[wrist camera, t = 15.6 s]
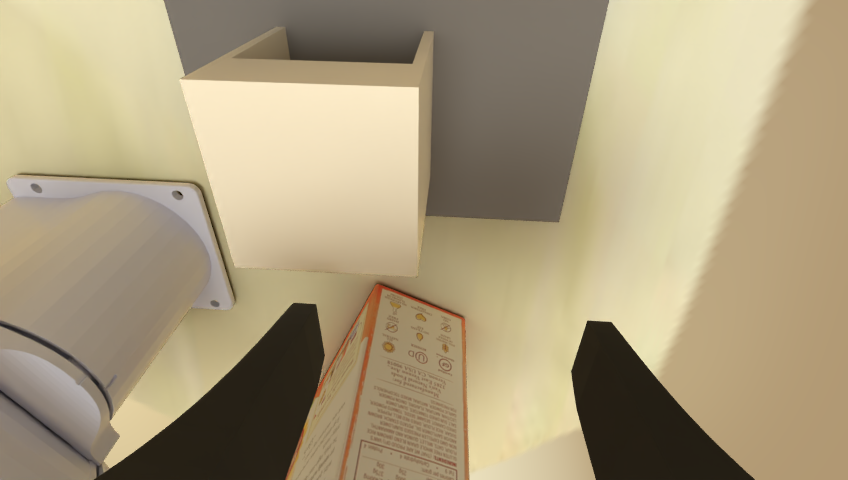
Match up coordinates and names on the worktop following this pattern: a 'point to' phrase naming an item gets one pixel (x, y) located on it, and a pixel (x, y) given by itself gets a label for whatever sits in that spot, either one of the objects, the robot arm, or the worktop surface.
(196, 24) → the mat
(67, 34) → the worktop surface
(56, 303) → the robot arm
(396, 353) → the cracker box
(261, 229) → the box
